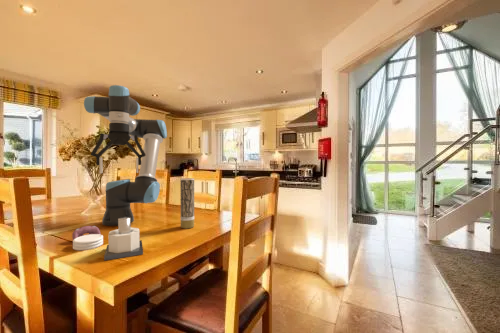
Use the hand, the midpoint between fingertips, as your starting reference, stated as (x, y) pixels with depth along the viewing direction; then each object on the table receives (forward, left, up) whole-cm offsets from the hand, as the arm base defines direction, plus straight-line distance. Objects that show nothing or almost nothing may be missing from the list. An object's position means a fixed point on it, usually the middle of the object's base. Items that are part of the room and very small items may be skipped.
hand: (119, 173), depth 100 cm
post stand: (+16, +2, -29) cm, 33 cm away
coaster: (+3, -11, -29) cm, 31 cm away
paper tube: (-6, +30, -29) cm, 42 cm away
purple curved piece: (-5, -13, -29) cm, 32 cm away
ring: (+16, +2, -27) cm, 32 cm away
